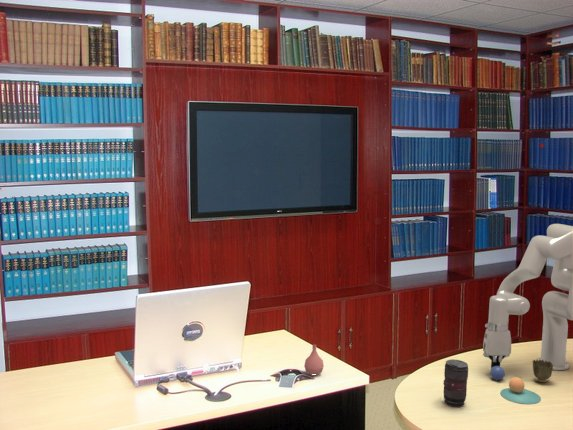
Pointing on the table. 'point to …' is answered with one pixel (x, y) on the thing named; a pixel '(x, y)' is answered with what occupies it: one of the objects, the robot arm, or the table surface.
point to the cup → (542, 370)
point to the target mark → (520, 396)
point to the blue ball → (497, 372)
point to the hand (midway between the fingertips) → (495, 370)
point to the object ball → (516, 385)
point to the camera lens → (455, 382)
